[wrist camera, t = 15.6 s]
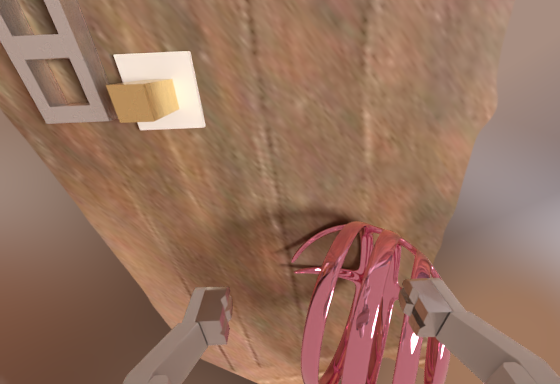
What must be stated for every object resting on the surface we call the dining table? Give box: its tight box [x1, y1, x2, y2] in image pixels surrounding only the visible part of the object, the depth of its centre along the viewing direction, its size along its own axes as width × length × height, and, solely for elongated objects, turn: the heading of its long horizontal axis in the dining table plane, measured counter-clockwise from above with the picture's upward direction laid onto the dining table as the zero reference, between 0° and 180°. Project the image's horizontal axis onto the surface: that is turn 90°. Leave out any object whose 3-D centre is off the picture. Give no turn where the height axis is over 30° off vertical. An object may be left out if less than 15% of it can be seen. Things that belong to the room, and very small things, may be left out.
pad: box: [113, 51, 206, 130], centre depth 32 cm, size 10×10×1 cm
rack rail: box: [0, 0, 118, 124], centre depth 26 cm, size 26×9×3 cm, turn 2°
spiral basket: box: [291, 221, 451, 384], centre depth 38 cm, size 28×28×27 cm
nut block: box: [106, 79, 179, 123], centre depth 29 cm, size 4×4×8 cm
